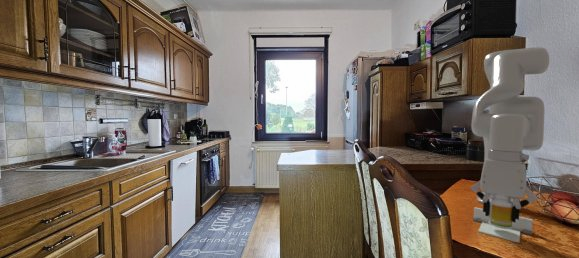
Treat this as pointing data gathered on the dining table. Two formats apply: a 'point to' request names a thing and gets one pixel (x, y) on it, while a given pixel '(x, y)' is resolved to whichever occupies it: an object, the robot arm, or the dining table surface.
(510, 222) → the supplement bottle
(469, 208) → the dining table surface
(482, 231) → the mat
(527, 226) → the low wall
